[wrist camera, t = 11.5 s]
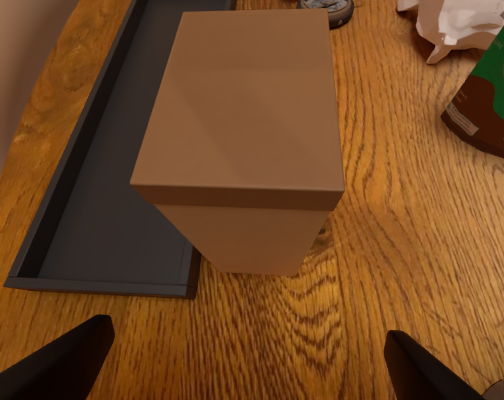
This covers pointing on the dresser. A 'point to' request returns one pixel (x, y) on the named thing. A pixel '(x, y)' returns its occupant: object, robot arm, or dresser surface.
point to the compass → (331, 9)
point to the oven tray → (113, 180)
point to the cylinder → (495, 391)
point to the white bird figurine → (456, 23)
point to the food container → (481, 102)
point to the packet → (246, 137)
